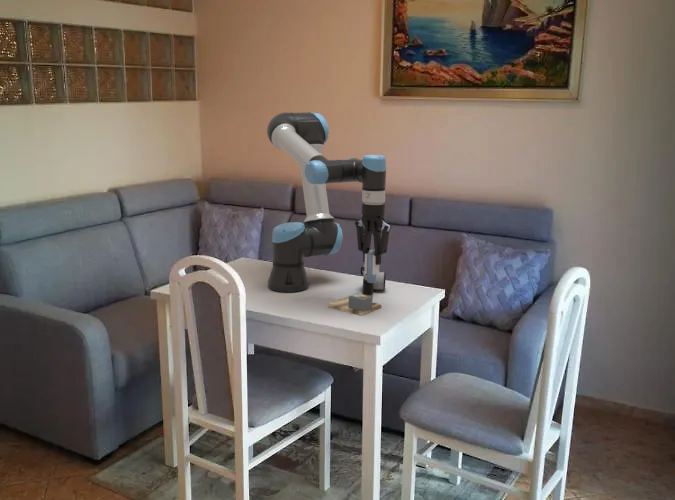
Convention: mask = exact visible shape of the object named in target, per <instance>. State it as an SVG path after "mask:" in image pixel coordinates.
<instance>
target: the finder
mask: <svg viewBox="0 0 675 500" xmlns="http://www.w3.org/2000/svg"><path fill="white" fill-rule="evenodd" d="M348 297H349V307H348V308H351V309H355V310H359V311H362V312H364V311H366V310H369V309H371V308H372V302H373V295H372V296H368V295H364V294H363V293H359V292H356V293H354V294H351V295H349V296H348Z"/></svg>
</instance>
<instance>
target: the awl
mask: <svg viewBox="0 0 675 500" xmlns="http://www.w3.org/2000/svg"><path fill="white" fill-rule="evenodd" d="M374 254H375V248H370V249H369V252H368V262H367V282H368V283H376V274H375V275H372V271H373V255H374Z"/></svg>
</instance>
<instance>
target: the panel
mask: <svg viewBox="0 0 675 500" xmlns="http://www.w3.org/2000/svg"><path fill="white" fill-rule="evenodd" d="M327 307H328V308H332V309H335V310H338V311H341V312H347V313H350V314H354V315H358V316H364V315H366V314H369V313H371V312H374V311H376V310H379V309H381V308H382V304H381V303H376V302H373V301H372V308H371V309H369V310H366V311H364V312H362V311H359V310H355V309H351V308H348V307H349V296H346V297H343V298H340V299H338V300H334V301H331V302H328V306H327Z"/></svg>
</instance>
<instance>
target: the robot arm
mask: <svg viewBox="0 0 675 500" xmlns="http://www.w3.org/2000/svg"><path fill="white" fill-rule="evenodd" d="M329 133H330V132H329V125H328V122H327V120H326V119H325V117H324V116H323V115H322V114H321V113H319V112H318V113H317V112H311V111H308V112H280V113H279V114H276V115H275V116H273V117H272V118H271V119H270V121H269V123H268V124H267V128H266V135H267V138H268V140H269V142H270V143H271V144H272V145H273V147H276V148H277V149H278V150H282V151H284V152H285V153H286V154H287V155H288V156H290V157H291V158H292V159H293V160H294V162H296V163H297V164H298V165H299V169H300V174H301V181H302V190H303V199H304V205H305V206H304V207H305V213H306V217H305V219H304V221H303V222H300V221H299V222H298V221H294V222H289V221H288V222H285V223H281V224H279V225H276V226H275V227H273V230H272V234H271V235H272V236H271V237H272V238H271V242H272V245H271V246H272V249H271V250H272V267H271V270H270V274H269V278H268V280H267V287H268V288H269V289H270V290H272V291H276V292H283V293H293V292H294V293H295V292H300V291H304V290H307V289H309V288H310V280H309V278H308V274H307V272H306V268H305V258H311V257H312V258H313V257H318V256H319V257H320V256H328V255H332V254H336V253H337V252H338V251H339V250H340V249H341V246H342V244H343V239H344V238H343V230H342V228H341V225H340V223H338V222H335V217H334V216H332V215H331V214H330V209H329V202H328V201H329V200H328V193H327V185H326V184H337V183H339V184H340V183H342V184H344V183H362V185H361V195H362V197H361V201H362V202H363V203H362V204H361V214H362V216H361V217H360V218H361V219H360V220H356V221H355V222H354V225H355V228H356V238H357V239H356V241H357V248H358V249H357V250H358V251H360V252H361V253H362V256H363V258H362V261H363V263H364V265H365V273H367V262H368V252H369V249H371V244H372V235H373V245H374V248H373V249H375V254H374V255H373V271H372V275H375V274H379V272H380V265H381V264H382V255H385V254H386V253H387V252H388V247H389V245H388V244H389V237H390V231H391V229H392V225H391V224H388V223H386V220H385V218H384V216H385V213H386V211H385V210H386V206H385V202H386V182H387V181H386V179H387V177H386V176H387V161H386V156H384V155H382V154H366V155H363V157H362V159H359V158H357V157H353V158H345V159H328V158H327V157H325V156H324V155H323V154H322V150H323V149H324V148H325V143H326V142H327V141H328V139H329Z"/></svg>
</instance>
